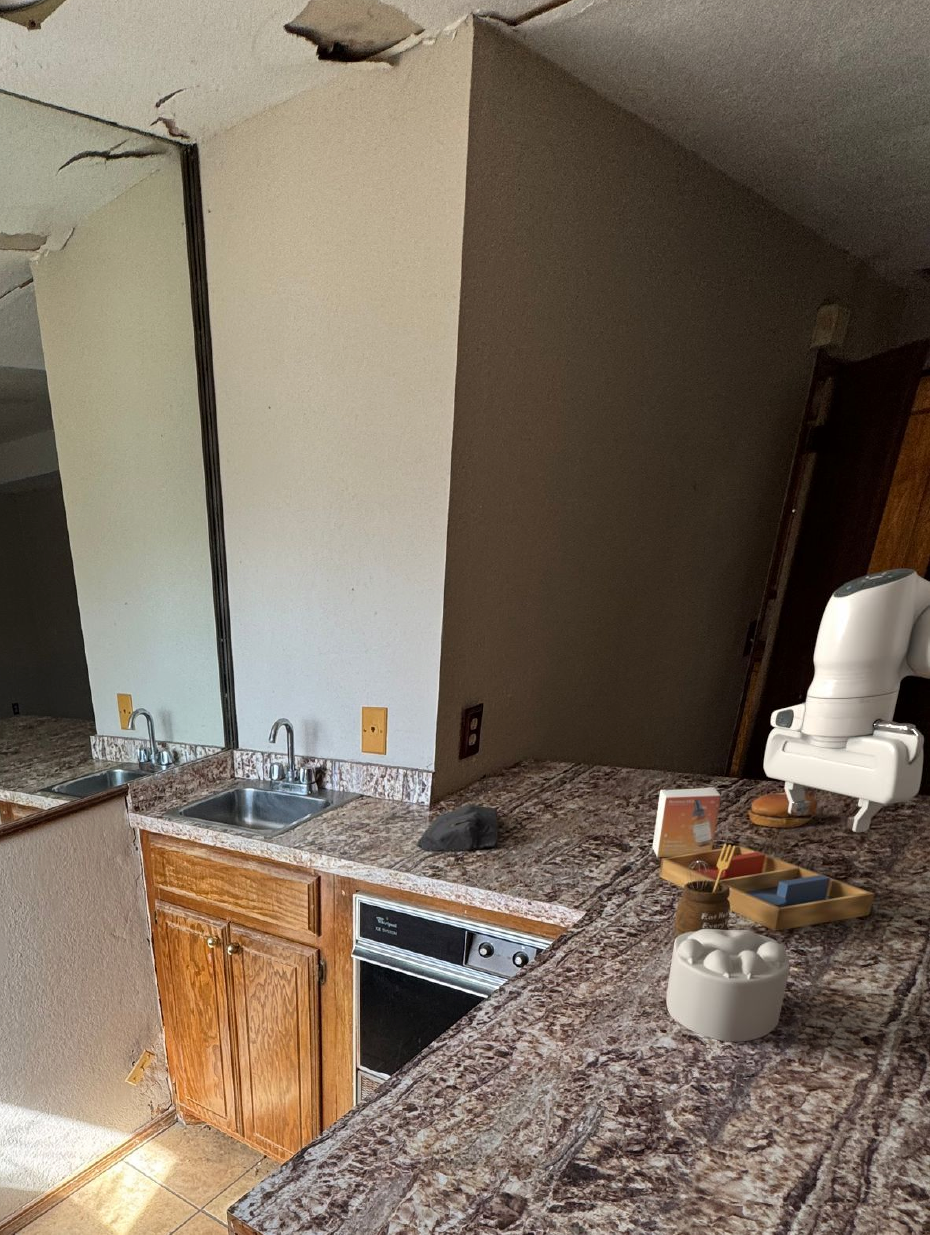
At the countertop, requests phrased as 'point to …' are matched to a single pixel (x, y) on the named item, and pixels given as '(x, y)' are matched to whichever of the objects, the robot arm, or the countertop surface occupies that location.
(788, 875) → the cutlery tray
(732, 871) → the red angular block
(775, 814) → the burger
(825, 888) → the blue l-shaped block
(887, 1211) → the countertop surface
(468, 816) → the dark slate chunk
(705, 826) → the small box
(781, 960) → the lumpy-topped squat cylinder
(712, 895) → the utensil holder
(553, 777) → the countertop surface
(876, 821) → the countertop surface
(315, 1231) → the countertop surface
